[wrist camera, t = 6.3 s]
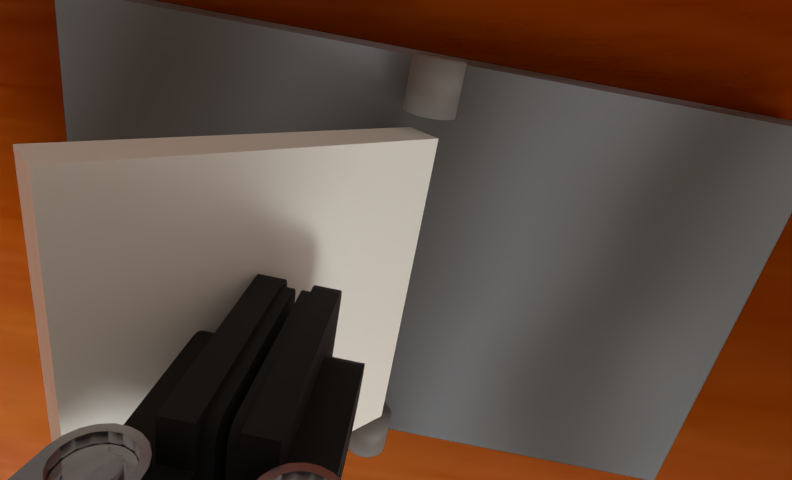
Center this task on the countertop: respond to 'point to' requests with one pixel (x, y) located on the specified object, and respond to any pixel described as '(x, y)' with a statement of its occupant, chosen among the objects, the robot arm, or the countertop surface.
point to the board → (489, 217)
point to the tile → (211, 249)
